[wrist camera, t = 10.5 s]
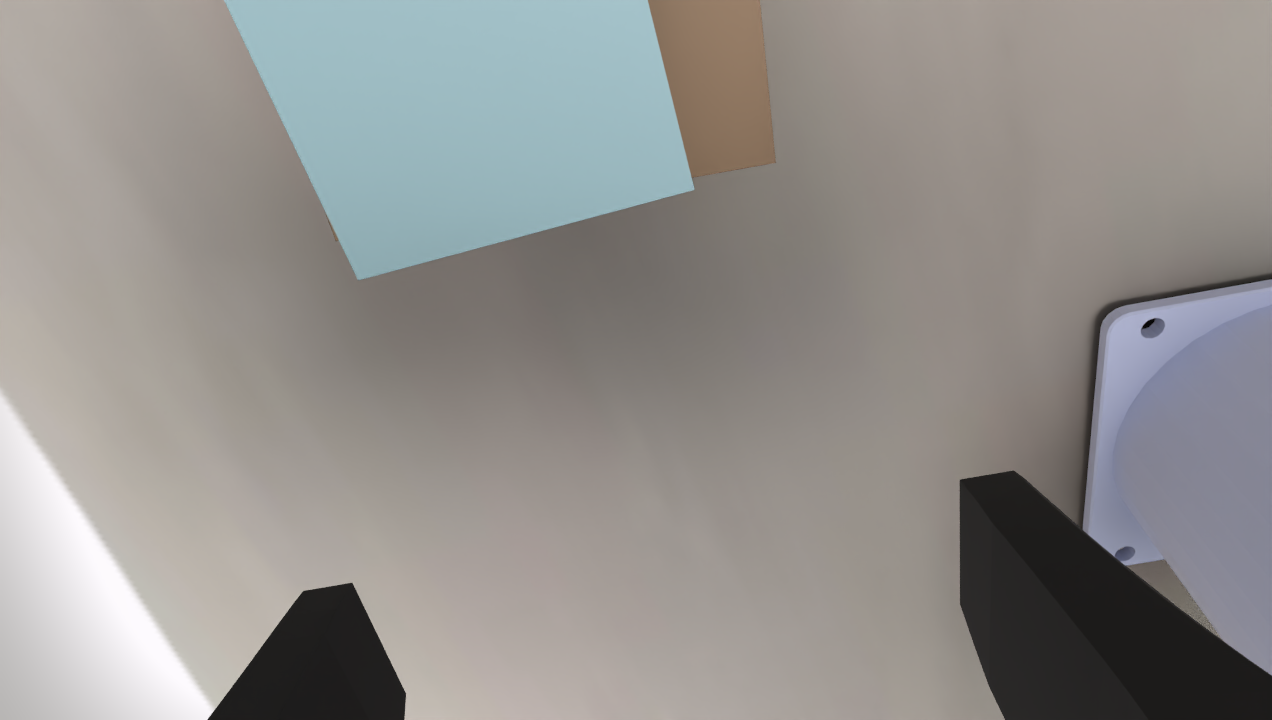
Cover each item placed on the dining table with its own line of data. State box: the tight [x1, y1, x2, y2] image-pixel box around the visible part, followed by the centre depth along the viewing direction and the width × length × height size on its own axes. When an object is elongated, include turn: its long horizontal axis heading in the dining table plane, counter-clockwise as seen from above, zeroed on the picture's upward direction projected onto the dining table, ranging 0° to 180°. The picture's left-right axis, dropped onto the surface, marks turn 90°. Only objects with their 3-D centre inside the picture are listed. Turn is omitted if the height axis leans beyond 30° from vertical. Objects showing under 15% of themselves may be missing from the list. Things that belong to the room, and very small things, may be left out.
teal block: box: [224, 0, 695, 280], centre depth 12 cm, size 4×4×6 cm
